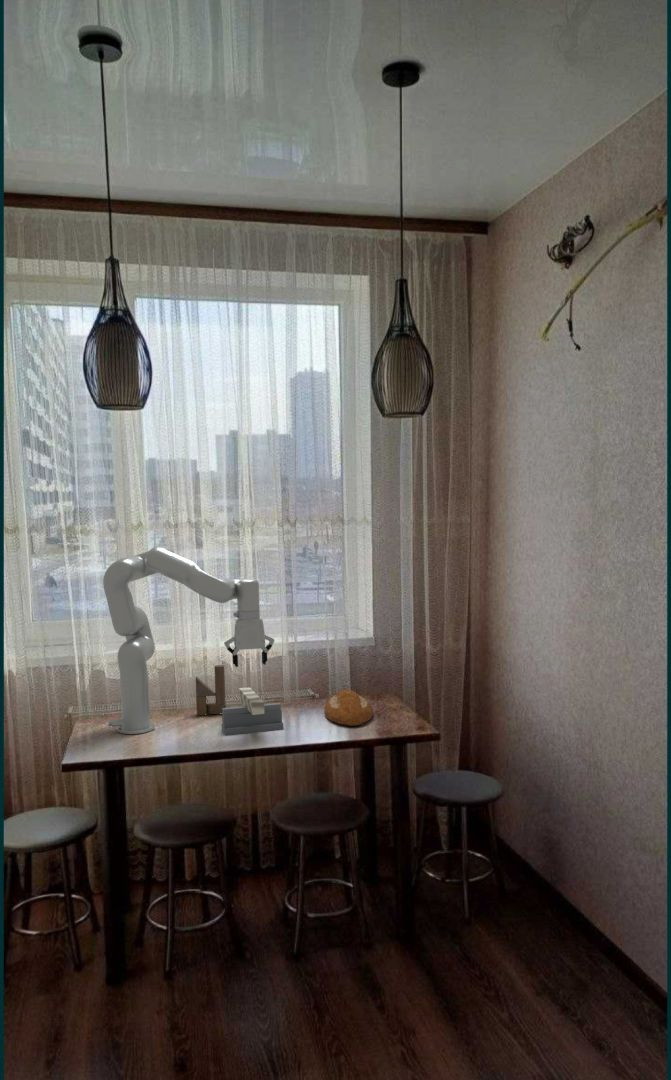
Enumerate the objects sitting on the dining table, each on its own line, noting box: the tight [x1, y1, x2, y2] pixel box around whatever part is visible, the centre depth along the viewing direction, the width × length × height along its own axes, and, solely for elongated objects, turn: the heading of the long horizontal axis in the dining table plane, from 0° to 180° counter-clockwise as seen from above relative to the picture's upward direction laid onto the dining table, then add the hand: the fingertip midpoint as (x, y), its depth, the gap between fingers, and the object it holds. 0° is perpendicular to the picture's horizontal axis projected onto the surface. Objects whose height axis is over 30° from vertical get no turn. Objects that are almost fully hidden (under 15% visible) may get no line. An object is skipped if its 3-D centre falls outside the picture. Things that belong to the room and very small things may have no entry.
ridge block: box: [221, 702, 284, 736], centre depth 291 cm, size 20×8×8 cm, turn 107°
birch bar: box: [238, 686, 265, 715], centre depth 291 cm, size 24×4×4 cm, turn 17°
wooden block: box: [195, 664, 227, 716], centre depth 314 cm, size 4×11×18 cm, turn 98°
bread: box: [323, 689, 374, 727], centre depth 307 cm, size 18×35×9 cm, turn 4°
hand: (250, 665), depth 291 cm, fingers open, 9 cm apart
